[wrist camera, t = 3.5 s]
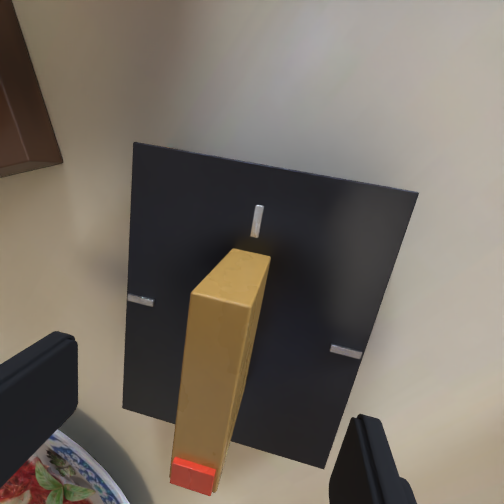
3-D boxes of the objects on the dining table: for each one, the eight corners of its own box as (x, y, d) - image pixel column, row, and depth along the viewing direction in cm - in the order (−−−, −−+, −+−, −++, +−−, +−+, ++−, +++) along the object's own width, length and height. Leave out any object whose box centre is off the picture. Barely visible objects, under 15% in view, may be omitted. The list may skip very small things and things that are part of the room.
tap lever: (232, 247, 13) (186, 295, 8) (271, 256, 12) (250, 310, 7) (211, 381, 15) (165, 486, 10) (244, 390, 15) (213, 502, 10)
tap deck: (165, 147, 15) (130, 141, 12) (395, 188, 14) (421, 192, 11) (148, 374, 19) (120, 410, 16) (320, 423, 18) (324, 472, 15)
